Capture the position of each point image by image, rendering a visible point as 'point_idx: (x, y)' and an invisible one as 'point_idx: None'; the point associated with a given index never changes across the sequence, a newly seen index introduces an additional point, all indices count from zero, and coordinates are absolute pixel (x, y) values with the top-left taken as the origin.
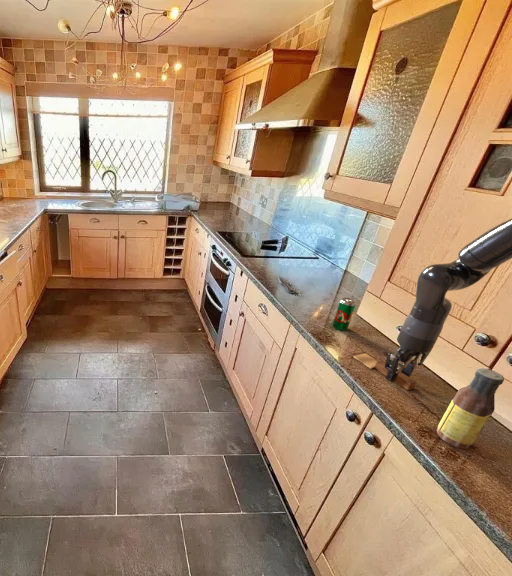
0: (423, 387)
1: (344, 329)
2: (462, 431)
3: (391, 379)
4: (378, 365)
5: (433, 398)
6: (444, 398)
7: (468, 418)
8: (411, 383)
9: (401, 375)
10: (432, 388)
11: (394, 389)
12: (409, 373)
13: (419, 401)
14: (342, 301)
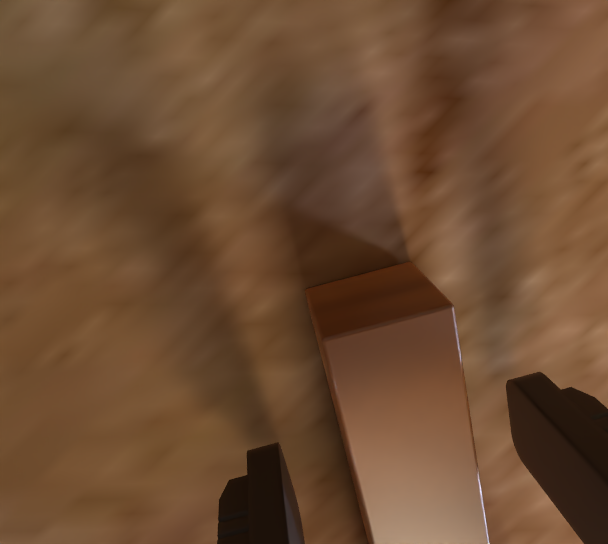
0: (151, 301)
1: None
2: None
3: (589, 402)
4: None
5: (187, 94)
6: (17, 81)
7: None
8: (437, 309)
9: (428, 465)
10: (37, 280)
11: (553, 279)
12: (286, 503)
13: (438, 53)
14: None
